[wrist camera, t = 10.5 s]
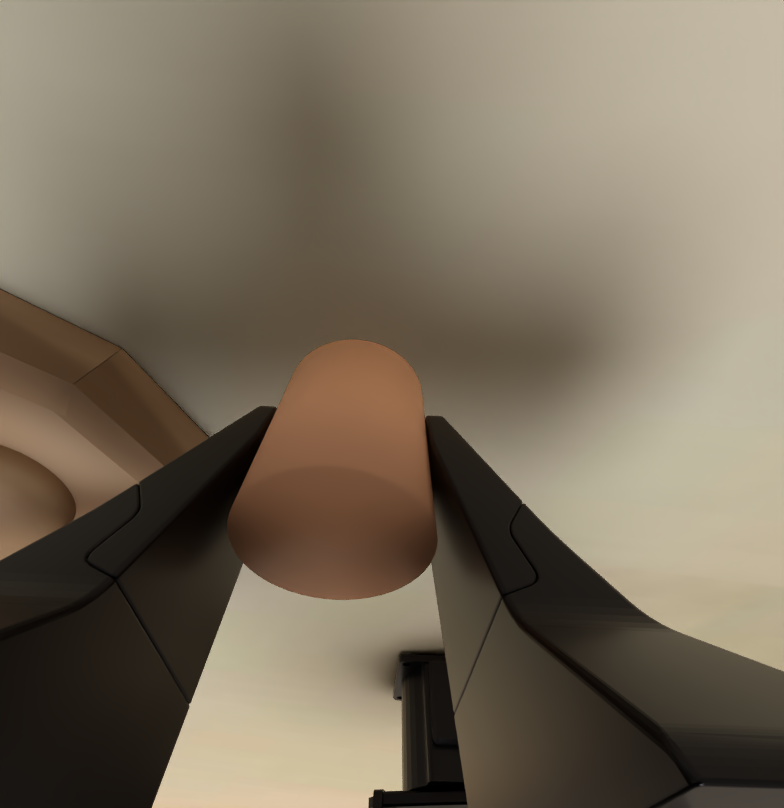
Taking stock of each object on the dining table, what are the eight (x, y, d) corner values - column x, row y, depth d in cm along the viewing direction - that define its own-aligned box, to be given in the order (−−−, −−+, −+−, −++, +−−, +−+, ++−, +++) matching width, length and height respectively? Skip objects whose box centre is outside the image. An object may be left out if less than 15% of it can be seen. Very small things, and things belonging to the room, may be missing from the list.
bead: (415, 454, 11) (425, 603, 8) (294, 447, 11) (244, 595, 8) (429, 343, 9) (451, 472, 6) (283, 335, 9) (207, 459, 6)
